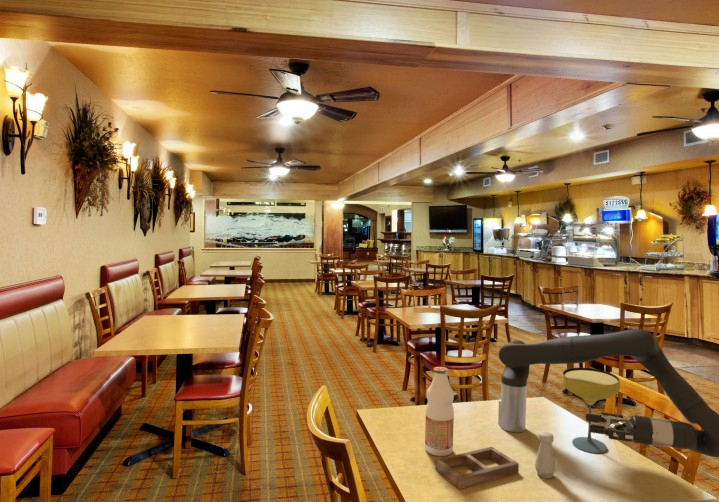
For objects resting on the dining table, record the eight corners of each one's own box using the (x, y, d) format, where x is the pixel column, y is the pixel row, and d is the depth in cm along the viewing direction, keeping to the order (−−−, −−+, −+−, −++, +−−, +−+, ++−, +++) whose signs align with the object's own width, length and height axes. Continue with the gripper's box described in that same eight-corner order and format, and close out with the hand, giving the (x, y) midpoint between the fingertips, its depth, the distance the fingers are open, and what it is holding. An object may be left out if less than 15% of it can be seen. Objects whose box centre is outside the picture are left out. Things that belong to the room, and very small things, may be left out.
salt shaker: (556, 481, 134) (558, 438, 133) (536, 478, 135) (538, 436, 134) (552, 471, 139) (553, 430, 139) (533, 468, 141) (534, 428, 140)
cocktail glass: (549, 439, 162) (550, 371, 160) (586, 429, 169) (587, 364, 167) (592, 464, 145) (593, 389, 143) (631, 451, 152) (632, 380, 150)
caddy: (435, 469, 139) (435, 459, 139) (491, 455, 149) (491, 446, 149) (459, 489, 128) (459, 478, 128) (518, 473, 138) (518, 463, 138)
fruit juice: (433, 458, 146) (435, 374, 145) (419, 445, 154) (421, 365, 154) (458, 454, 149) (460, 371, 148) (443, 442, 158) (445, 363, 157)
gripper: (644, 409, 134) (584, 401, 139) (658, 427, 120) (591, 418, 126) (644, 433, 134) (584, 425, 139) (657, 455, 121) (590, 445, 126)
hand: (587, 422), depth 133 cm, fingers open, 8 cm apart
